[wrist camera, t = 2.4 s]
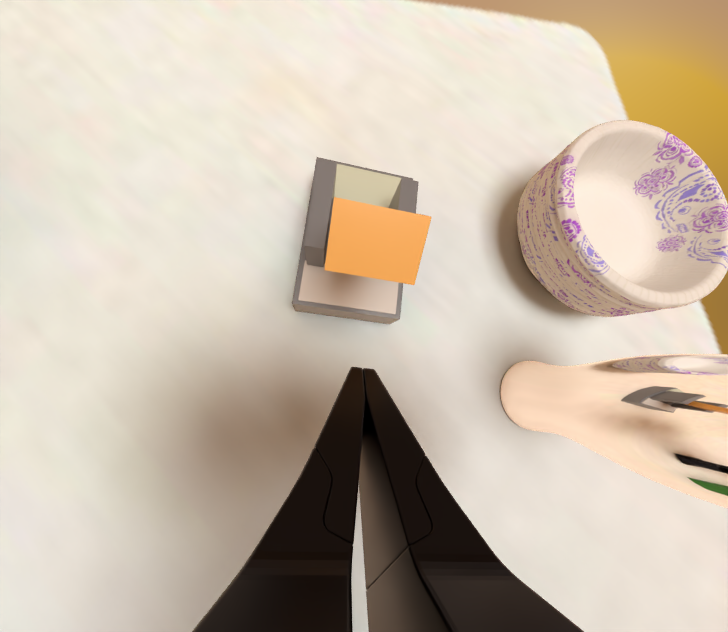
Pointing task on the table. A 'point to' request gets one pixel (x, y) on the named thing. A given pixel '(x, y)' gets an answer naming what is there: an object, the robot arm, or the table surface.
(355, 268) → the breaker lever
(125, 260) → the table surface
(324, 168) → the breaker block
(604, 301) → the paper bowls
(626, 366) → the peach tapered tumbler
